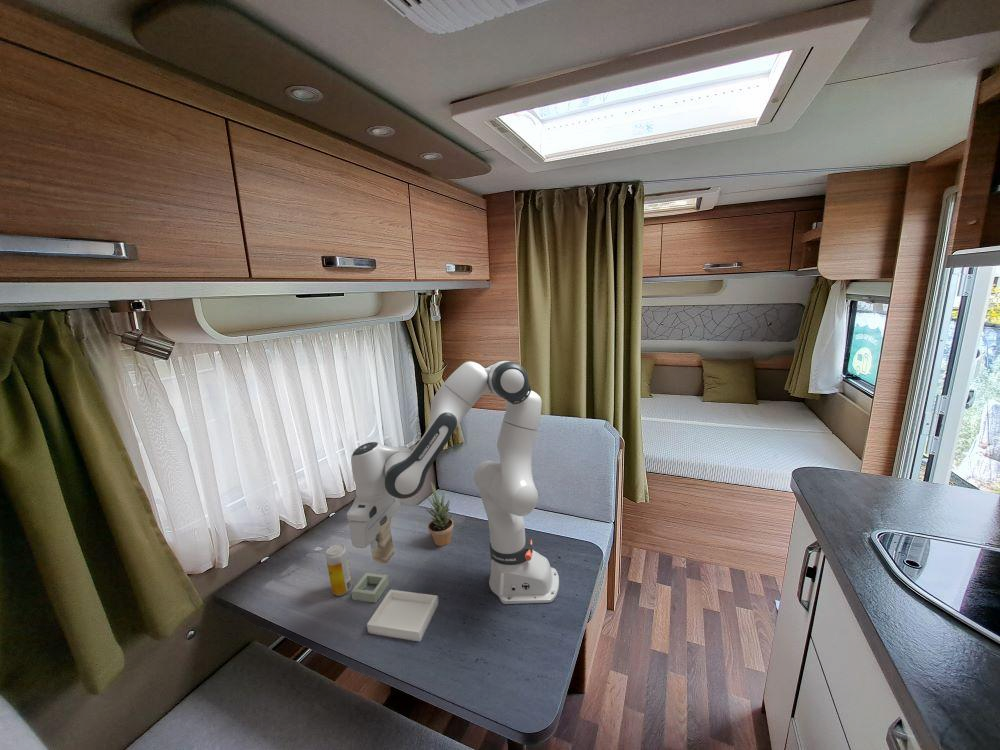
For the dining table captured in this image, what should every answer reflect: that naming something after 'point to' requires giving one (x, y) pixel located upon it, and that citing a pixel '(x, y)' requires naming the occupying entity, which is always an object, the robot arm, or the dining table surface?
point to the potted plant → (440, 520)
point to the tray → (403, 615)
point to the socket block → (368, 595)
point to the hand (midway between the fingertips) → (381, 541)
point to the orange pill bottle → (338, 569)
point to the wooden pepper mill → (383, 543)
